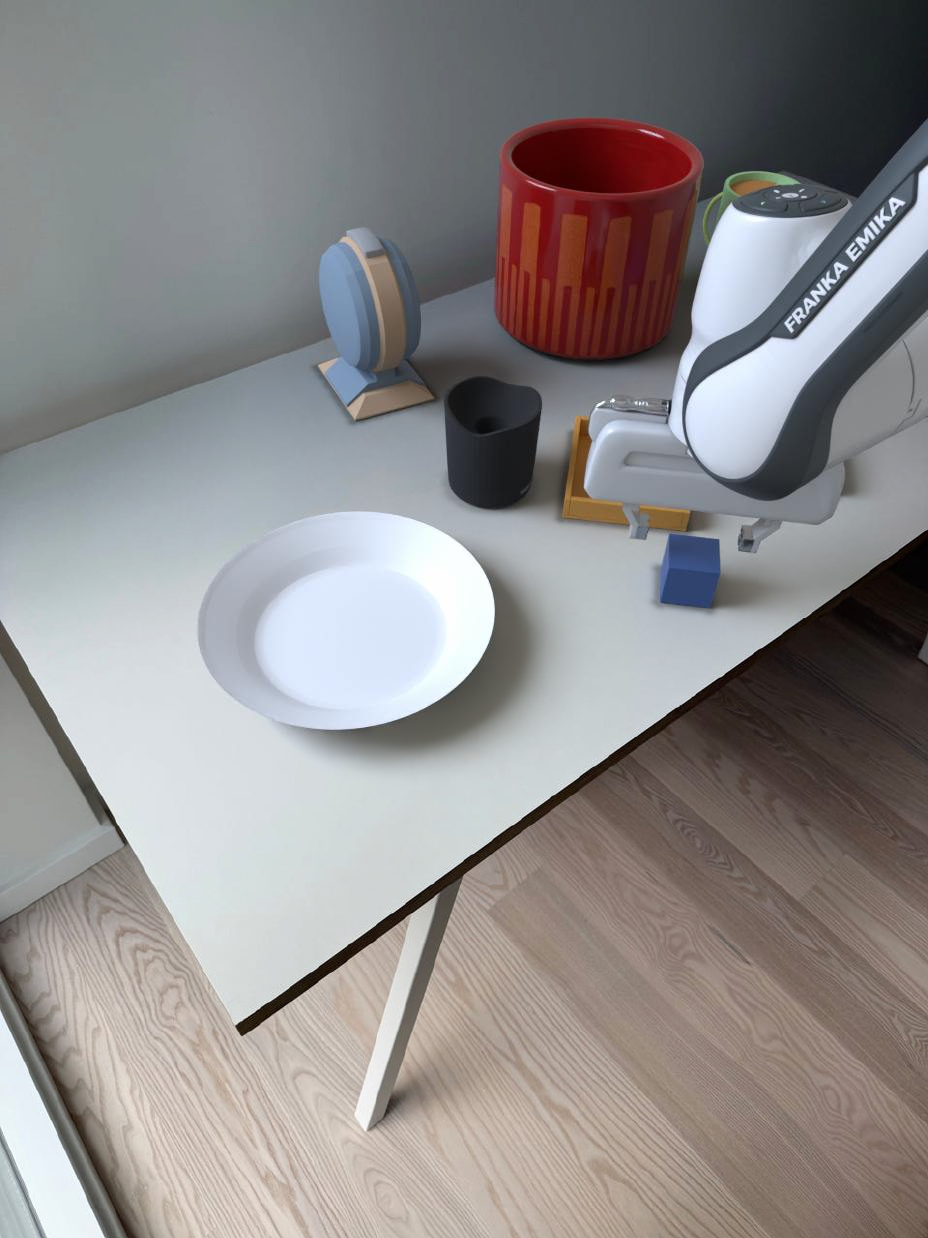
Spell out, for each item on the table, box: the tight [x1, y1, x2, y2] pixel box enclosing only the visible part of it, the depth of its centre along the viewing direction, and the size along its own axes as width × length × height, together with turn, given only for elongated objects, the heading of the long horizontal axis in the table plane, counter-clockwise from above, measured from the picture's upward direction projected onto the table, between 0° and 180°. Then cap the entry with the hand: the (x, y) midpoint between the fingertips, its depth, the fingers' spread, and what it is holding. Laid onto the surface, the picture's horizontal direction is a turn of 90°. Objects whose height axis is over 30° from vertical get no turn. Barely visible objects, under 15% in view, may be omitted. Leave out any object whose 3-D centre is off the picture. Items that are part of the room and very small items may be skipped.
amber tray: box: [562, 415, 691, 532], centre depth 92 cm, size 12×14×2 cm
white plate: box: [196, 510, 496, 731], centre depth 77 cm, size 25×25×4 cm
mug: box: [702, 170, 802, 248], centre depth 119 cm, size 13×10×12 cm
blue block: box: [659, 533, 722, 609], centre depth 81 cm, size 4×4×4 cm
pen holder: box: [443, 374, 543, 509], centre depth 89 cm, size 9×9×10 cm
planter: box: [493, 116, 705, 361], centre depth 108 cm, size 23×23×20 cm
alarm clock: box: [317, 226, 436, 422], centre depth 98 cm, size 14×10×18 cm
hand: (691, 541), depth 78 cm, fingers open, 8 cm apart
